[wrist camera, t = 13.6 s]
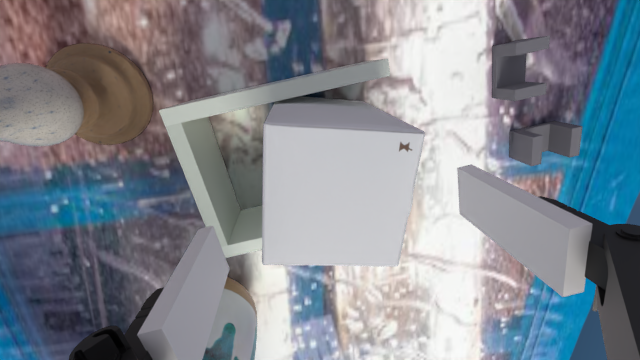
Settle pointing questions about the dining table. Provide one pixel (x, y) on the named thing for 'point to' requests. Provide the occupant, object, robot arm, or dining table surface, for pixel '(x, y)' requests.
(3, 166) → the dining table surface
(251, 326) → the vase
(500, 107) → the dining table surface
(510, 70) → the clip
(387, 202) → the supplement box
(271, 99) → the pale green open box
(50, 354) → the dining table surface
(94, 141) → the candle holder
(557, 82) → the dining table surface
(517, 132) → the clip
